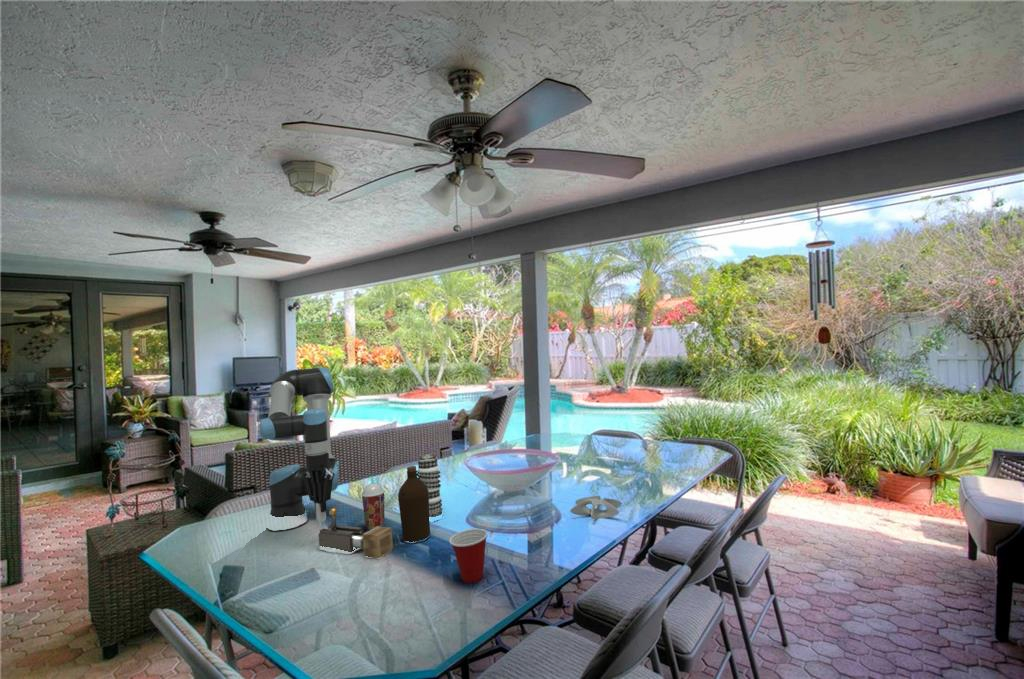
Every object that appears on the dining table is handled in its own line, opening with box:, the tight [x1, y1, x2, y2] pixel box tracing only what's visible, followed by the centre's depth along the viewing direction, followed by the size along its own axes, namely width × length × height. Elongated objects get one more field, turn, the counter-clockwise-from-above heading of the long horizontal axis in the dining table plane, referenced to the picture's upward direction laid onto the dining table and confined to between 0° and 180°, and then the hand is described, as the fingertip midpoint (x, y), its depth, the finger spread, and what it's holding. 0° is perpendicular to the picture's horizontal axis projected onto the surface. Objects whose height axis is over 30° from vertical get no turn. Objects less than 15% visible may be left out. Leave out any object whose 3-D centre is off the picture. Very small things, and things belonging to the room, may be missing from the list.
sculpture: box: [569, 495, 623, 520], centre depth 170 cm, size 18×20×6 cm
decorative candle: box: [416, 453, 443, 517], centre depth 181 cm, size 9×9×25 cm
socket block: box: [363, 526, 394, 559], centre depth 152 cm, size 6×7×8 cm
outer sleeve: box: [318, 524, 365, 552], centre depth 158 cm, size 14×6×7 cm, turn 66°
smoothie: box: [361, 475, 386, 528], centre depth 175 cm, size 8×8×20 cm
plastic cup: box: [449, 528, 488, 584], centre depth 129 cm, size 11×11×12 cm
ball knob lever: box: [328, 507, 364, 549], centre depth 157 cm, size 16×4×12 cm, turn 66°
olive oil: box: [397, 465, 431, 542], centre depth 162 cm, size 11×11×25 cm
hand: (321, 520), depth 162 cm, fingers closed
